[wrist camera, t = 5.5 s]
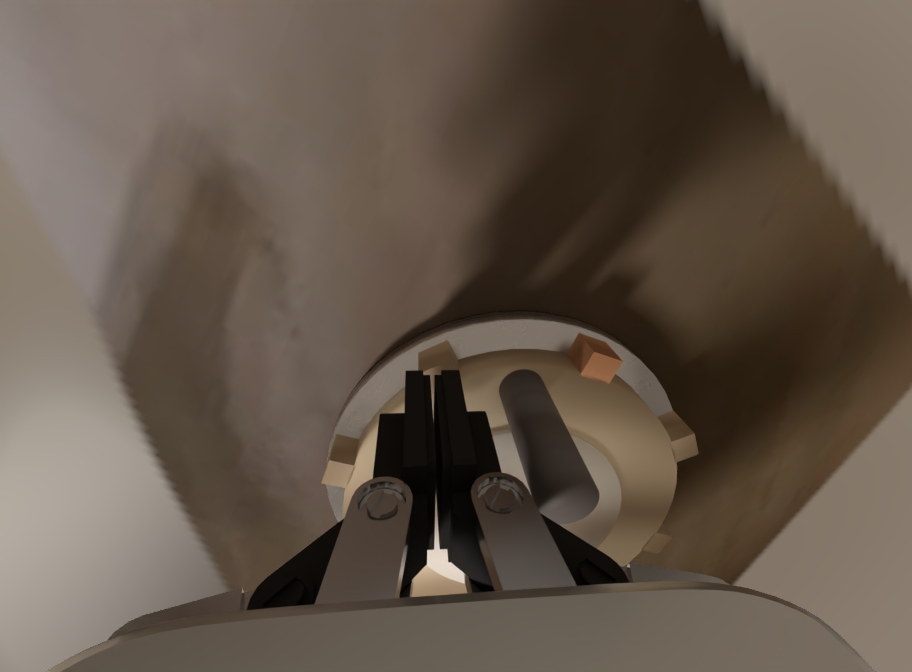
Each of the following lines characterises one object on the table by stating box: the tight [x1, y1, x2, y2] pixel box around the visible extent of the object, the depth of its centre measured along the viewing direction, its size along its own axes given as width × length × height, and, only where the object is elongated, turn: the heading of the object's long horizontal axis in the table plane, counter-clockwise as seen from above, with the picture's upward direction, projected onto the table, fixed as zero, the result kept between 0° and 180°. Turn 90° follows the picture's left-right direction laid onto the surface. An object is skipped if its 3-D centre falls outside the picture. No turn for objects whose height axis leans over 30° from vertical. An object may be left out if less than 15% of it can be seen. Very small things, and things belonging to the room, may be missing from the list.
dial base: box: [326, 311, 673, 522], centre depth 19 cm, size 16×16×1 cm
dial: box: [322, 333, 699, 597], centre depth 16 cm, size 15×15×6 cm
